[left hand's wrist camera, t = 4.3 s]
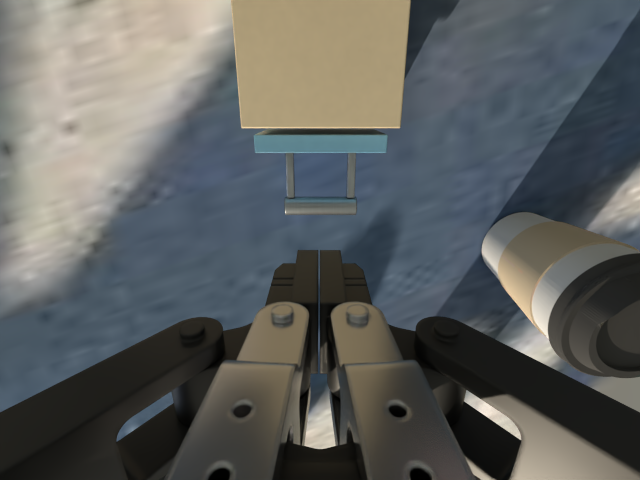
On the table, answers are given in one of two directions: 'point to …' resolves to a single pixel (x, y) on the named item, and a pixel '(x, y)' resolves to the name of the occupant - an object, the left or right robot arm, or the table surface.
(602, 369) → the coffee cup
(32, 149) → the table surface
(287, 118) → the beige cardboard box
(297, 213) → the drawer
